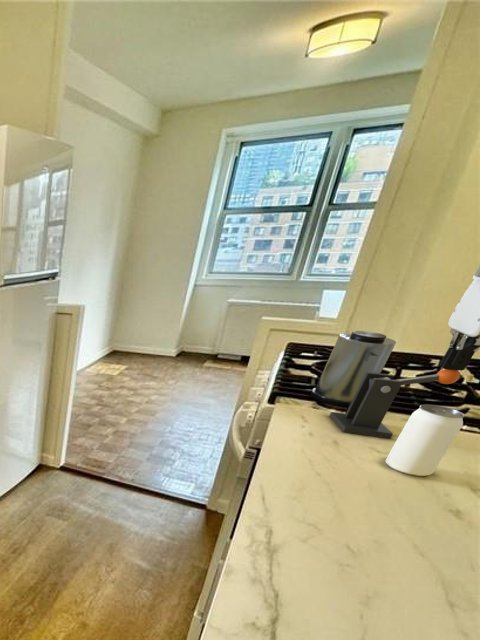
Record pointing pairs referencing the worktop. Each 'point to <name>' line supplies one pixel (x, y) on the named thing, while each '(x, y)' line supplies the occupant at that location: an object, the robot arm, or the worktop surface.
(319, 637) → the worktop surface
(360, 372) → the kettle
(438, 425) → the can
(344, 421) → the switch bracket
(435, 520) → the worktop surface
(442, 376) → the switch
